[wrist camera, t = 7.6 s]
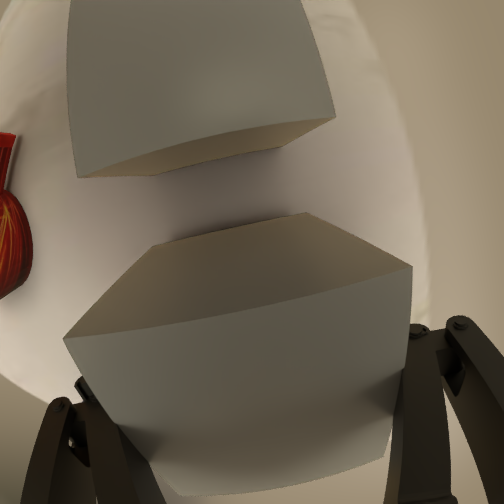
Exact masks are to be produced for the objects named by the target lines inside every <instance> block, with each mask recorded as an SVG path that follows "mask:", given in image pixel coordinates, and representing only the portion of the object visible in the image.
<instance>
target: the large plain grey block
mask: <svg viewBox="0 0 504 504" xmlns="http://www.w3.org/2000/svg"><path fill="white" fill-rule="evenodd" d="M412 269H413V266H411V265H409V264H407V263H405V262H404V261H402V260H400V259H398V258H396V257H394V256H393V255H391V254H389V253H387V252H385V251H383V250H381V249H379V248H377V247H376V246H374V245H372V244H370V243H368V242H366V241H364V240H362V239H360V238H358V237H356V236H354V235H352V234H350V233H348V232H346V231H344V230H342V229H340V228H338V227H336V226H334V225H332V224H330V223H328V222H326V221H323V220H321V219H319V218H317V217H315V216H313V215H311V214H309V213H301V214H296V215H291V216H286V217H281V218H276V219H272V220H267V221H262V222H257V223H253V224H248V225H243V226H239V227H234V228H230V229H225V230H220V231H216V232H212V233H207V234H203V235H198V236H194V237H190V238H185V239H181V240H177V241H173V242H168V243H164V244H160V245H156V246H152V247H151V248H150V249H149V250H148V251H147V252H146V253H145V254H144V255H143V256H142V257H141V258H140V259H139V260H138V261H137V262H136V263H135V264H133V265H132V266H131V267H130V268H129V269H128V270H127V271H126V272H125V273H124V274H123V275H122V276H121V277H120V278H119V279H118V280H117V281H116V282H115V283H114V284H113V285H112V286H111V287H110V288H109V289H108V290H107V291H106V292H105V293H104V294H103V295H102V296H101V297H100V298H99V300H98V301H97V302H96V303H95V304H94V305H93V306H92V307H91V308H90V309H89V310H88V311H87V312H86V313H85V314H84V315H83V316H82V318H81V319H80V320H79V321H78V322H77V323H76V324H75V325H74V326H73V327H72V329H71V330H70V331H69V332H68V333H67V334H66V335H65V336H64V338H63V341H64V343H65V345H66V347H67V349H68V351H69V353H70V354H71V356H72V358H73V360H74V362H75V364H76V365H77V367H78V369H79V371H80V372H81V374H82V376H83V377H84V379H85V381H86V382H87V384H88V385H89V387H90V389H91V390H92V392H93V393H94V395H95V396H96V398H97V399H98V401H99V402H100V404H101V405H102V407H103V408H104V410H105V411H106V412H107V414H108V415H109V417H110V418H111V419H112V421H113V422H114V423H115V424H117V425H118V426H119V427H120V429H121V430H122V431H123V433H124V434H125V435H126V436H127V438H128V439H129V440H130V441H131V443H132V444H133V445H134V446H135V447H136V449H137V450H138V451H139V452H140V453H141V454H142V456H143V457H144V458H145V459H146V460H147V461H148V462H149V465H150V466H151V467H152V468H153V469H154V471H155V472H156V473H158V475H159V476H160V477H161V478H162V479H163V480H164V481H165V482H166V483H167V484H168V485H169V486H171V487H172V488H173V489H174V490H175V491H176V492H177V493H178V494H179V495H180V496H213V495H229V494H239V493H249V492H257V491H264V490H271V489H276V488H282V487H287V486H292V485H297V484H301V483H305V482H309V481H313V480H317V479H321V478H324V477H328V476H331V475H335V474H338V473H341V472H344V471H347V470H350V469H353V468H356V467H359V466H362V465H364V464H367V463H370V462H372V461H375V460H377V459H379V458H382V457H383V456H384V453H385V450H386V446H387V443H388V440H389V436H390V433H391V429H392V425H393V414H394V409H395V405H396V400H397V395H398V390H399V385H400V379H401V373H402V369H403V368H404V367H405V361H406V354H407V346H408V337H409V328H410V316H411V301H412Z"/></svg>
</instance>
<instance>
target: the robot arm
mask: <svg viewBox="0 0 504 504" xmlns="http://www.w3.org/2000/svg"><path fill="white" fill-rule="evenodd" d="M74 387H75V388H76V390H77V391H78V393H79V394H80V396H81V397H82V399H83V400H84V402H82V403H77V404H72V403H71V401H70V400H69V398H67V397H59V398H56V399H54V400H53V401H52V402H51V403H50V404H49V406H48V408H47V410H46V413H45V416H44V418H43V421H42V424H41V427H40V430H39V433H38V436H37V439H36V442H35V445H34V449H33V452H32V456H31V459H30V463H29V466H28V470H27V474H26V479H25V483H24V487H23V492H22V497H21V502H20V504H96V497H97V500H98V504H166V502H165V499H164V497H163V495H162V493H161V491H160V489H159V486H158V484H157V482H156V480H155V477H154V475H153V472H152V470H151V467H150V465H149V462H148V461H147V460H146V459H145V458H144V457H143V456H142V454H141V453H140V452H139V451H138V450H137V449H136V447H135V446H134V445H133V444H132V443H131V441H130V440H129V439H128V438H127V436H126V435H125V434H124V433H123V431H122V430H121V429H120V427H119V426H118V425H117V424H115V423H114V422H113V421H112V419H111V418H110V417H109V415H108V414H107V412H106V411H105V410H104V408H103V407H102V405H101V404H100V402H99V401H98V399H97V398H96V396H95V395H94V393H93V392H92V390H91V389H90V387H89V385H88V384H87V382H86V381H85V379H84V377H83V376H81V377H80V378H79V379H78V380H77V381H76V382H75V385H74ZM443 389H444V391H445V393H446V395H447V397H448V399H449V401H450V403H451V405H452V407H453V409H454V411H455V414H456V416H457V418H458V420H459V423H460V425H461V427H462V430H463V432H464V434H465V437H466V439H467V442H468V444H469V447H470V449H471V452H472V454H473V457H474V460H475V462H476V465H477V468H478V471H479V474H480V477H481V480H482V482H483V486H484V489H485V492H486V496H487V499H488V503H489V504H504V357H503V355H502V354H501V353H500V352H499V351H498V349H497V348H496V347H495V346H494V344H493V343H492V342H491V341H490V340H489V339H488V338H487V336H486V335H485V334H484V333H483V332H482V330H481V329H480V328H479V327H478V326H477V325H476V324H475V323H474V322H473V321H472V320H471V319H470V318H468V317H466V316H459V315H458V316H453V317H451V318H449V319H448V320H447V322H446V328H445V329H439V330H434V331H430V330H429V328H427V327H426V326H424V325H421V324H410V328H409V337H408V346H407V354H406V361H405V367H404V368H403V369H402V373H401V379H400V385H399V390H398V395H397V400H396V405H395V409H394V414H393V427H392V442H391V453H390V462H389V471H388V478H387V485H386V491H385V498H384V502H383V504H458V501H457V498H456V497H455V496H453V495H452V493H451V460H450V442H449V431H448V420H447V412H446V405H445V398H444V392H443ZM69 440H70V441H71V442H72V446H71V447H70V446H69Z"/></svg>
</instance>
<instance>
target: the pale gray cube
mask: <svg viewBox="0 0 504 504" xmlns="http://www.w3.org/2000/svg"><path fill="white" fill-rule="evenodd" d="M67 97H68V111H69V122H70V131H71V139H72V147H73V154H74V160H75V166H76V171H77V177H78V178H88V177H111V176H153V175H157V174H160V173H164V172H167V171H171V170H175V169H178V168H182V167H186V166H190V165H194V164H198V163H202V162H206V161H211V160H215V159H220V158H224V157H229V156H234V155H238V154H243V153H249V152H254V151H259V150H265V149H270V148H276V147H282V146H284V145H286V144H287V143H289V142H291V141H293V140H294V139H296V138H298V137H300V136H302V135H303V134H305V133H307V132H309V131H311V130H313V129H314V128H316V127H318V126H320V125H322V124H324V123H326V122H328V121H330V120H332V119H333V118H335V117H336V114H335V109H334V105H333V101H332V97H331V93H330V89H329V86H328V82H327V78H326V75H325V71H324V68H323V64H322V61H321V58H320V54H319V51H318V48H317V45H316V42H315V39H314V36H313V33H312V30H311V27H310V24H309V22H308V19H307V16H306V14H305V11H304V8H303V6H302V3H301V1H300V0H71V4H70V12H69V22H68V35H67Z"/></svg>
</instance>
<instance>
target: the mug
mask: <svg viewBox="0 0 504 504" xmlns="http://www.w3.org/2000/svg"><path fill="white" fill-rule="evenodd" d="M15 138H16V135H14V134H11V133H2V132H0V299H2V298H3V297H5V296H6V295H8V294H9V293H10V292H12V291H13V290H15V289H16V288H18V287H19V286H21V285H22V284H23V283H24V282H25V281H26V280H27V278H28V276H29V274H30V270H31V266H32V259H33V243H32V235H31V230H30V226H29V222H28V219H27V216H26V214H25V212H24V210H23V208H22V205H21V204H20V203H19V201H18V200H17V198H16V197H15V196H14V195H13V194H12V193H10V192H9V191H7V190H4V184H5V178H6V173H7V168H8V164H9V159H10V155H11V151H12V147H13V144H14V141H15Z"/></svg>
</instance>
